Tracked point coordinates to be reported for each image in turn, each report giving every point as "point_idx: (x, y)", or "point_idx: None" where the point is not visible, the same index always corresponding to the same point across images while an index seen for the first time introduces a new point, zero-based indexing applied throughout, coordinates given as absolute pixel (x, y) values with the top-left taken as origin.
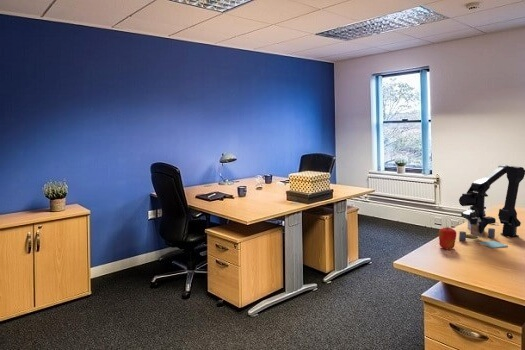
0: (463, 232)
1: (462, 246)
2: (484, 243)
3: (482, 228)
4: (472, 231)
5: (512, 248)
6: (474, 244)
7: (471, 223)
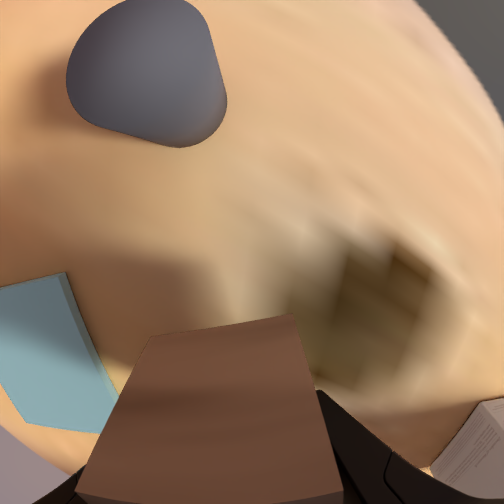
0: (95, 59)
1: (13, 43)
2: (27, 302)
3: None
4: (248, 359)
5: (7, 412)
6: (33, 191)
7: (378, 501)
